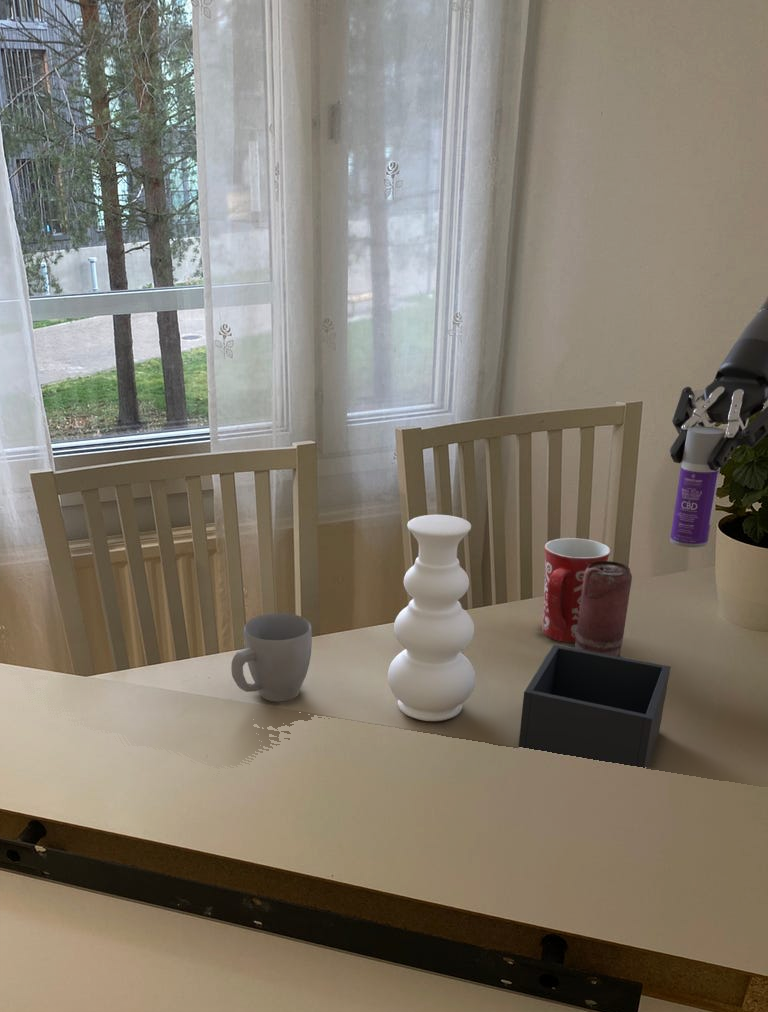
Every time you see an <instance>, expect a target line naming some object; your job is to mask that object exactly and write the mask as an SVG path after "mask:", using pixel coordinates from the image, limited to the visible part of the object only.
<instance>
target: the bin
mask: <svg viewBox="0 0 768 1012" xmlns="http://www.w3.org/2000/svg"><path fill="white" fill-rule="evenodd" d="M671 668H672V667H671V666H670V665H666V664H660V663H654V662H649V661H643V660H639V659H633V658H628V657H623V656H620V657H618V656H612V655H607V654H601V653H596V652H591V651H585V650H580V649H575V647H569V646H563V645H559V644H553V645H552V647H551V648H550V650H549V651H548V652H547V654H546V656H545V658H544V659H543V661H542V662H541V664H540V666H539V667H538V669H537V671H536V672H535V673H534V675H533V677H532V679H531V680H530V682H529V683H528V685H527V686H526V688H525V690H524V692H523V699H522V708H521V709H522V710H521V719H520V729H519V739H518V747H523V748H529V749H534V750H541V751H547V752H552V753H557V754H563V755H570V756H576V757H582V758H587V759H593V760H599V761H605V762H612V763H619V764H624V765H630V766H637V767H643V768H645V767H647V769H648V768H649V765H650V762H651V759H652V755H653V752H654V749H655V746H656V743H657V740H658V737H659V734H660V729H661V723H662V718H663V713H664V707H665V701H666V697H667V696H666V695H667V690H668V686H669V685H668V684H669V679H670V674H671Z"/></svg>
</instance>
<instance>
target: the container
mask: <svg viewBox="0 0 768 1012" xmlns="http://www.w3.org/2000/svg"><path fill="white" fill-rule="evenodd" d="M725 437H726V430H725V429H724V428H720V427H715V426H713V427H691V428H689V429H688V431H687V436H686V442H685V448H684V453H683V459H682V462H681V463H680V464H681V465H680V471H679V478H678V484H677V490H676V496H675V497H676V498H675V503H674V511H673V517H672V524H671V531H670V532H671V533H670V539H669V541H670V542H671V543H672V544H673V545H676V546H679V547H684V548H693V549H694V548H703V547H705V546H707V545H708V542H709V536H710V532H711V526H712V520H713V515H714V508H715V504H716V503H715V502H716V496H717V490H718V484H719V478H720V474H721V473H720V472H721V467H720V468H719V469H718V471H713V470H710V468H709V466H708V464H707V461H708V458H709V457H710V455H711V454H712V452H713V451H714V449H715V447H716V446H717V444H718V443H719V441H720V440H721V438H725Z"/></svg>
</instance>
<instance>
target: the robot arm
mask: <svg viewBox="0 0 768 1012" xmlns="http://www.w3.org/2000/svg"><path fill="white" fill-rule="evenodd" d="M702 401H703V402H702ZM701 402H702V403H701ZM700 403H701V404H700ZM699 404H700V405H699ZM757 414H758V415H757ZM755 415H756V417H754V416H755ZM752 417H754V418H753V420H752V421H750V423H749V420H750V418H752ZM671 420H672V421H671V422H672V424H673V426H674V428H675V431H676V432H677V434H678V436H677V437H676V439H675V440H674V442H673V443H672V445H671V447H670V448H669V453H670V457H671V459H672V461H673V463H675V464H682V459H683V453H684V448H685V442H686V436H687V431H688V429H689V428H691V427H715V425H716V424H723V423H725V424H726V425H727V427H726V430H725V438H721V440H720V441H719V443H718V444H717V446H716V447H715V449H714V451H713V452H712V454H711V455H710V457H709V458H708V461H707V464H708V466H709V468H710V470H713V471H718V469H719V468H720V469H721V468H723V467H725V466H726V465H727V463H728V461H729V460H730V458H731V457H732V455H733V453H734V452H735V451H736V449H739V448H740V447H742V446H746V447H748V448H753V447H755V446H757V445H758V444H759V443H760V442H761V441H762V440H763V439H764V438H765V437H766V436H767V435H768V296H767V297H766V299H765V300H764V302H763V303H762V305H761V306H760V308H759V309H758V311H757V312H756V314H755V316H754V317H753V318H752V319H751V320H750V322H749V323H748V324H747V325H746V326H745V328H744V329H743V330H742V332H741V333H740V335H739V336H738V338H737V339H736V341H735V343H734V344H733V346H732V347H731V349H730V350H729V352H728V353H727V355H726V356H725V358H724V359H723V361H722V363H721V364H720V366H719V367H718V369H717V372H716V374H715V377H714V379H713V381H712V382H711V383H709V384H708V385H707V386H705V387H704V389H699V390H698V389H697V390H693V389H692V387H690V386H686V387H684V388H683V389H682V390H681V393H680V396H679V399H678V402H677V405H676V408H675V411H674V414H673V417H672V419H671Z"/></svg>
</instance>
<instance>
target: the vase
mask: <svg viewBox="0 0 768 1012" xmlns="http://www.w3.org/2000/svg"><path fill="white" fill-rule="evenodd" d="M406 526H407V528H408V531H410V533H411V534H412V536H413V537H414V538H415V539H416V542H417V543H418V556H417V557H416V558H415V561H414V564H413V565H412V566H411V567H410V568H408V570H407V571H406V573H405V575H404V577H403V586H404V589H405V591H406V592H407V594H408V595H409V596H410V597H411V598H412V599H411V600H410V601H409V603H408V605H407V606H406V607H404V608H402V609H401V611H400V612H399V613H398V615H396V618H395V620H394V622H393V623H394V624H393V633H394V636H395V639H396V640H397V642H398V644H399V645H400V646H401V647H402V648H403V649H404V650H402V651H400V652H399V653H398V654H397V655H396V656H395V657H394V658H393V660H392V661H391V663H390V665H389V667H388V671H387V683H388V687H389V689H390V691H391V692H392V694H393V695H394V696H395V698H396V699H397V706H398V708H399V709H400V711H401V712H402V713H404V714H405V715H406V716H408V717H409V718H413V719H415V720H420V721H426V722H441V721H446V720H450V719H452V718H455V717H456V716H457V715H459V714H460V712H461V711H462V709H463V703H464V702H465V701H466V700H468V699H469V698H470V696H471V695H472V693H473V691H474V689H475V686H476V672H475V669H474V667H473V664H472V663H471V661H470V659H469V658H467V656H465V654H463V653H462V651H464V650H465V649H466V648H467V647H468V646H469V645H470V643H471V642H472V641H473V638H474V636H475V624H474V621H473V618H472V617H471V615H470V614H469V613H468V612H467V610H465V609H464V608H463V606H462V604H461V602H460V601H459V600H460V599H461V598H463V597H464V595H466V593H467V591H468V590H469V587H470V579H469V576H468V574H467V572H466V571H465V569H464V568H462V566H461V565H460V559H459V558H458V546H459V544H460V542H461V541H462V540H463V539H464V538H465V537H466V535H467V534H468V533H469V532H470V531H471V529H472V524H471V523H470V522H469V521H468V520H467V519H464V518H462V517H459V516H454V515H450V514H449V515H448V514H427V515H419V516H416V517H414V518H412V519H410V520H409V521H408V522H407V525H406Z"/></svg>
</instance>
